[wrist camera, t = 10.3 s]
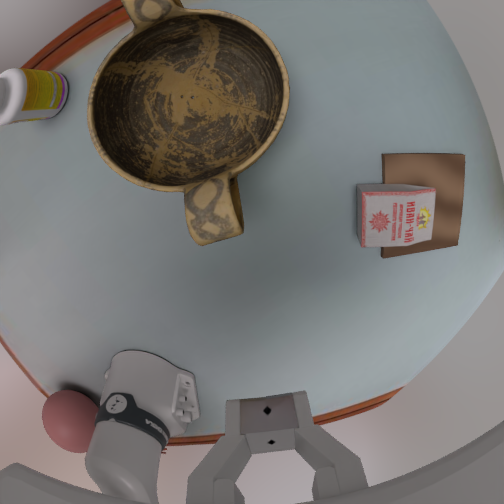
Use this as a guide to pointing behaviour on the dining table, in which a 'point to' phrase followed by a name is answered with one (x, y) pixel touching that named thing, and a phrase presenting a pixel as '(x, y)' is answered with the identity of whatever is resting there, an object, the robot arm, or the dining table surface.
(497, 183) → the dining table surface
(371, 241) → the white red-printed box
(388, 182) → the walnut board
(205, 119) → the ceramic bowl
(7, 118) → the supplement bottle
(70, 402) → the balloon
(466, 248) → the dining table surface
